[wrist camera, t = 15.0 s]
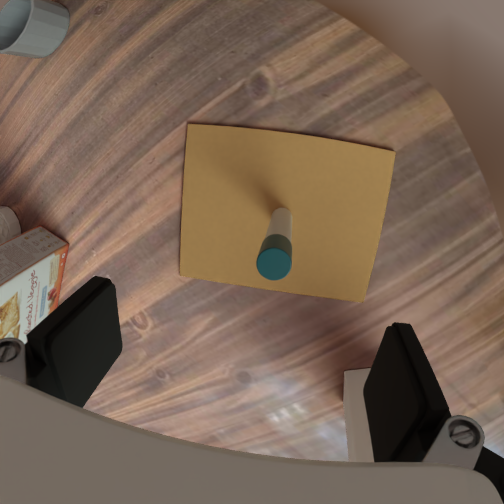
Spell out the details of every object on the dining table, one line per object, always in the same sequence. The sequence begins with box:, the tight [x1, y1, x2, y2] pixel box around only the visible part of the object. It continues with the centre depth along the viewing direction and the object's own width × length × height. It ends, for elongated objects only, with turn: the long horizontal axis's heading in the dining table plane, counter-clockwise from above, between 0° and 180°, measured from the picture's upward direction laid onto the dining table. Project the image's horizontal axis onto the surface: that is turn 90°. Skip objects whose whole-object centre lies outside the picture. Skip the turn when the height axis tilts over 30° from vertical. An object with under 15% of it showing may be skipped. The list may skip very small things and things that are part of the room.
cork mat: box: [180, 124, 396, 303], centre depth 31 cm, size 16×20×1 cm
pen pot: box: [0, 0, 70, 58], centre depth 23 cm, size 8×8×7 cm
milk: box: [343, 368, 374, 462], centre depth 27 cm, size 6×6×22 cm
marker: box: [256, 208, 292, 280], centre depth 26 cm, size 2×2×12 cm
